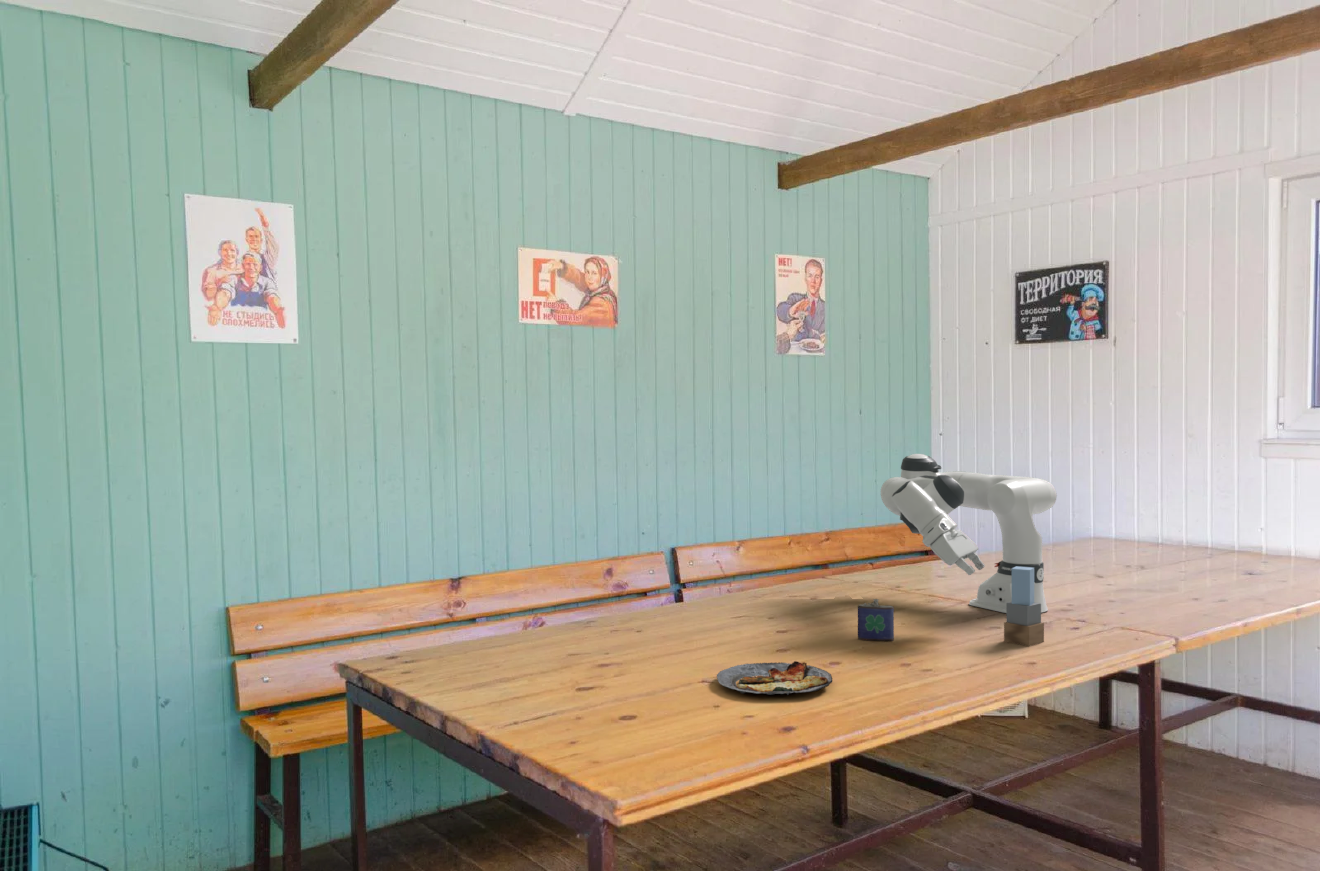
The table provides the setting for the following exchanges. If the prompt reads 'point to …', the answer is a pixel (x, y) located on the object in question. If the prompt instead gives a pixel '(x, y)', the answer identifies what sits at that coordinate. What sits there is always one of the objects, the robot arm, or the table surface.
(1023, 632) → the tower base
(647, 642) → the table surface
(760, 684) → the food plate
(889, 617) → the flask
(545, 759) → the table surface
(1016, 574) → the pillar
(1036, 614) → the tower middle
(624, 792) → the table surface
